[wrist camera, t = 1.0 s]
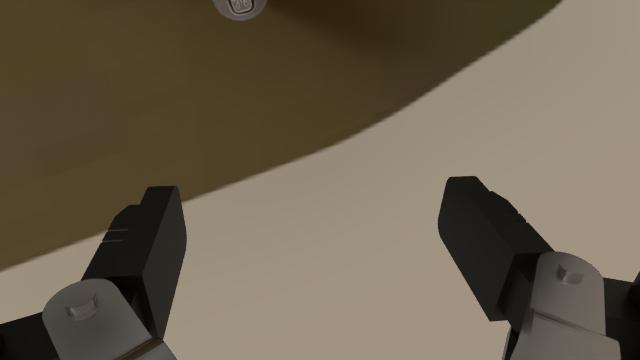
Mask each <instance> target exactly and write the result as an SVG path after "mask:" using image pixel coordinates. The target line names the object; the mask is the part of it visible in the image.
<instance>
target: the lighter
mask: <svg viewBox="0 0 640 360" xmlns="http://www.w3.org/2000/svg"><path fill="white" fill-rule="evenodd" d="M212 1H213V3H214V5H215V6H216V8H217V9H218V10H219V12H220V13H221V14H222V15H224V16H225V17H227V18H229V19H232V20H236V21H245V20H250V19H252V18H254V17H256V16H257V15H259V14H260V13H261V12H262V11H263V10H264V8H265V6H266V4H267V0H212Z"/></svg>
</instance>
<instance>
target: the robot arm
mask: <svg viewBox="0 0 640 360" xmlns="http://www.w3.org/2000/svg"><path fill="white" fill-rule="evenodd" d="M438 230H439V234H440V237H441V239H442V241H443V242H444V244H445V246H446V248H447V249H448V251H449V253H450V254H451V256H452V258H453V260H454V261H455V263H456V265H457V266H458V268H459V270H460V271H461V273H462V275H463V277H464V278H465V280H466V282H467V283H468V285H469V287H470V288H471V290H472V292H473V294H474V295H475V297H476V299H477V300H478V302H479V304H480V306H481V307H482V309H483V311H484V312H485V314H486V316H487V317H488V319H489V321H503V320H508V322H509V323H510V325H511V327H510V329H509V331H508V334H507V338H506V343H505V347H504V352H503V356H502V360H640V272H639V273H638V275H637V277H636V279H635V280H634V282H627V281H621V280H615V279H610V278H603V277H602V276H601V274H600V273H599V271H598V270H597V269H596V268H595V267H593V266H592V265H591V264H589V263H588V262H587V261H585V260H583V259H581V258H579V257H577V256H574V255H571V254H568V253H564V252H555V251H554V250H553V249H552V248H551V247H550V246H549V245H548V243H547V242H546V241H545V240H544V239H543V238H542V237H541V236H540V235H539V234H538V233H537V232H536V231H535V230H534V228H533V227H532V226H531V225H530V224H529V223H526V220H525V219H524V218H523V216H521V214H518V211H517V210H516V209H515V208H514V207H513V206H512V205H511V203H510V202H509V201H508V200H506V199H504V198H503V197H501V196H499V195H498V194H496V193H495V192H493V191H489V190H488V189H487V188H486V187H485V186H484V185H483V183H482V182H480V180H479V179H478V178H477V177H475V176H463V177H450V178H449V179H448V180H447V182H446V186H445V190H444V195H443V199H442V204H441V208H440V213H439V217H438ZM102 241H103V242H102V243H101V244H100V246H99V248H98V249H97V251H96V253H95V255H94V257H93V259H92V260H91V262H90V264H89V266H88V268H87V270H86V272H85V273H84V275H83V277H82V279H81V281H79V282H76V283H74V284H71V285H69V286H67V287H65V288H64V289H62V290H60V291H59V292H58V293H56V294H55V295H54V296H53V297H52V298H51V299H50V300H49V301H48V302H47V304H46V306H45V307H44V310H43V312H40V313H37V314H34V315H31V316H27V317H24V318H21V319H17V320H13V321H10V322H7V323H3V324H0V360H177V359H176V357H175V356H174V354H173V353H172V352H171V350H170V349H169V348H168V346H167V345H166V344H165V343H164V341H163V337H164V334H165V330H166V326H167V322H168V317H169V314H170V310H171V306H172V302H173V298H174V294H175V290H176V286H177V283H178V278H179V274H180V270H181V267H182V263H183V259H184V255H185V251H186V242H187V235H186V227H185V221H184V215H183V210H182V204H181V199H180V193H179V189H178V187H177V186H156V187H148V188H147V190H146V192H145V194H144V197H143V199H142V201H141V203H140V205H128V206H127V207H126V208H125V209H124V210H122V211H121V212H120V213H119V214H118V215H116V216H115V218H114V220H113V221H112V223H111V225H110V227H109V229H108V232H106V234H105V236H104V238H103V240H102Z"/></svg>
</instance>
